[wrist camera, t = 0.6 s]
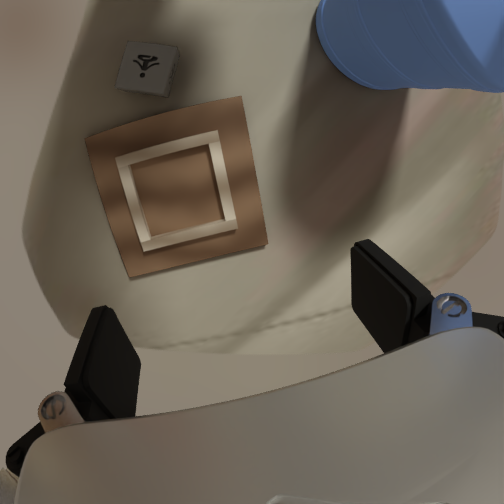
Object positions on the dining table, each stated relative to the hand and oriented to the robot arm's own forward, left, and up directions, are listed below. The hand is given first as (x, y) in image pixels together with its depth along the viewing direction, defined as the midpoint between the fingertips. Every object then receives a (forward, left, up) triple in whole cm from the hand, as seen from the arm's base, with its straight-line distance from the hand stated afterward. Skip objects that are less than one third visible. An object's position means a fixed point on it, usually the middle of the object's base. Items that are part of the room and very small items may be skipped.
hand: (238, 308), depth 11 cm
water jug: (-15, +23, -26) cm, 38 cm away
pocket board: (+1, -4, -26) cm, 26 cm away
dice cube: (-13, -4, -26) cm, 30 cm away
